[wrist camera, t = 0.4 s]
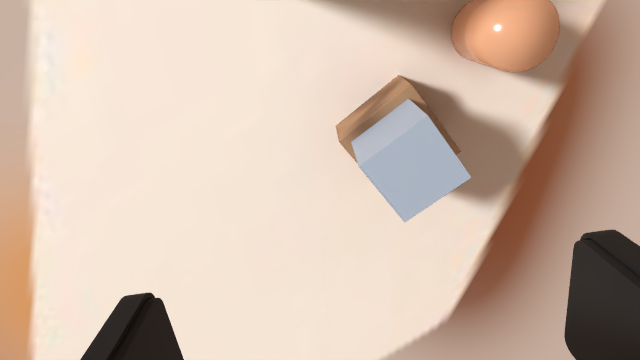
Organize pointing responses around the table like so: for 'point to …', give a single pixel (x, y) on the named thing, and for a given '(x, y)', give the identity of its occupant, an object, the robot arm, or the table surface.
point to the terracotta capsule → (506, 32)
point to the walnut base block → (384, 113)
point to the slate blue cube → (408, 160)
